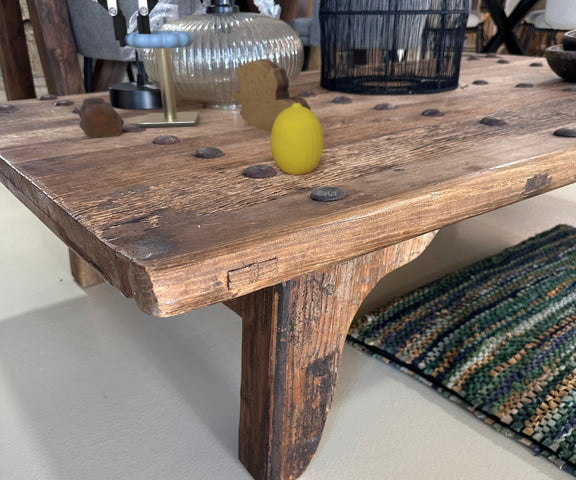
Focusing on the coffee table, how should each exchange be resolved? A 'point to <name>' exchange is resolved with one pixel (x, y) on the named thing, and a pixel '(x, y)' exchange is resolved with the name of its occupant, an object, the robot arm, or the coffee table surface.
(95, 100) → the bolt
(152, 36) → the ring
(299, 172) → the lemon
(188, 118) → the post
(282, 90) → the wooden carving
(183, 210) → the coffee table surface
